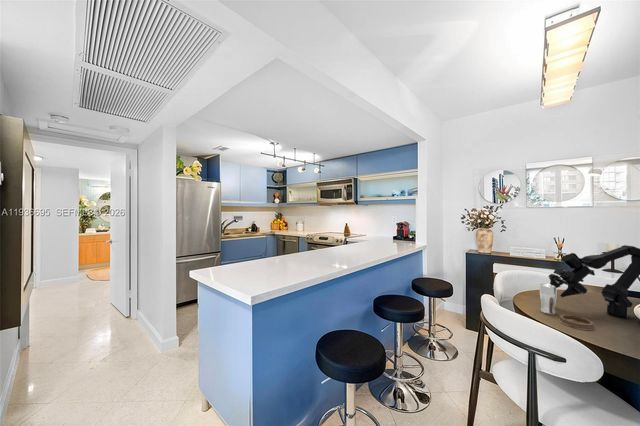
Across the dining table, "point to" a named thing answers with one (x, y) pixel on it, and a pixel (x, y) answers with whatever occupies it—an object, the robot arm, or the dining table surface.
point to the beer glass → (548, 298)
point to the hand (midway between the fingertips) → (554, 293)
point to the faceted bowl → (576, 322)
